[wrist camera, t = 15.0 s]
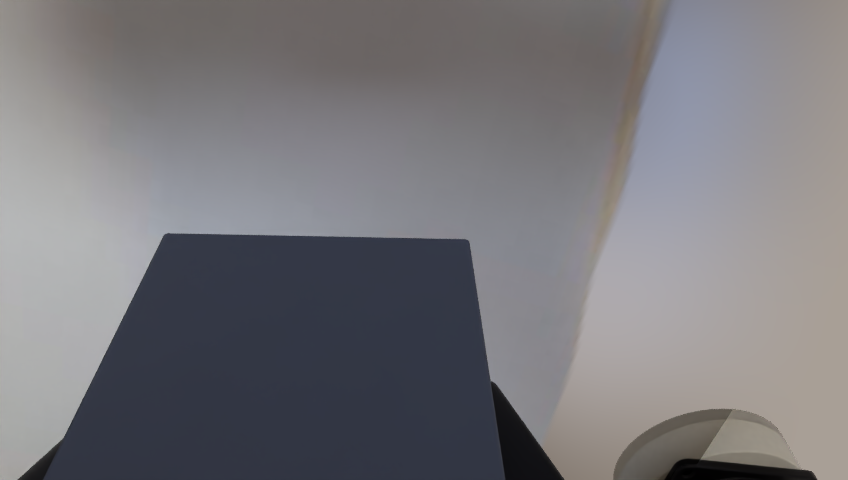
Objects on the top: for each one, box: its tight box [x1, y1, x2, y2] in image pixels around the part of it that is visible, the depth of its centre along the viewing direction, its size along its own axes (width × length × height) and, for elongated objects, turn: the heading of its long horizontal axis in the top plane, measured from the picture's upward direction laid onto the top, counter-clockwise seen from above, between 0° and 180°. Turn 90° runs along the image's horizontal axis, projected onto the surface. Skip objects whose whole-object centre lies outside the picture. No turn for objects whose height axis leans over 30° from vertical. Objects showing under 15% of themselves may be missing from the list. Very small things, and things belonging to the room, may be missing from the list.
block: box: [43, 233, 505, 480], centre depth 9 cm, size 4×4×4 cm
